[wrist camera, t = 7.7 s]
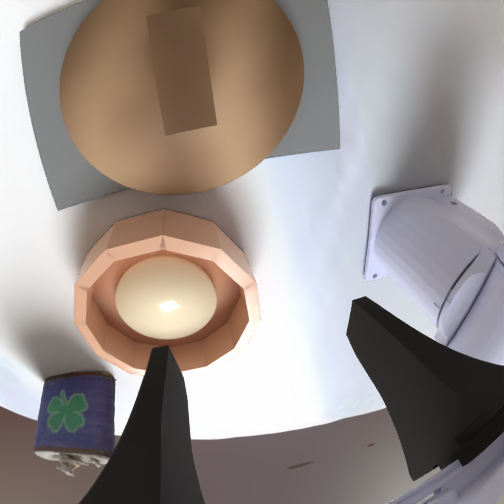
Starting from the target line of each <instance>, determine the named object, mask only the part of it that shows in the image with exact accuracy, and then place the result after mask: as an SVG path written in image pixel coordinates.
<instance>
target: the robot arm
mask: <svg viewBox="0 0 504 504" xmlns="http://www.w3.org/2000/svg"><path fill="white" fill-rule="evenodd" d="M451 193H452V187H451V186H450V185H449V184H445V185H439V186H433V187H426V188H420V189H414V190H408V191H402V192H396V193H391V194H385V195H379V196H376V197H374V198H373V200H372V206H371V218H370V229H369V239H368V248H367V256H366V264H365V272H364V279H365V280H366V281H367V282H370V281H373V280H376V279H379V278H382V277H385V276H388V275H390V276H391V277H392V278H393V279H394V280H395V282H396V283H397V284H398V285H399V286H400V287H401V288H402V289H403V290H404V291H405V292H406V293H407V294H408V295H409V296H410V298H411V299H412V300H413V301H414V302H415V303H416V304H417V305H418V306H419V307H420V309H421V310H422V311H423V312H424V313H425V314H426V315H427V316H428V318H429V319H430V320H431V321H432V322H433V323H434V325H435V326H436V327H437V328H438V331H437V333H436V335H435V337H434V338H435V340H436V341H435V340H433V339H431V338H429V337H427V336H426V335H424V334H422V333H421V332H419V331H417V330H416V329H414V328H412V327H411V326H409V325H408V324H406V323H405V322H403V321H402V320H400V319H399V318H397V317H396V316H394V315H393V314H391V313H390V312H388V311H387V310H385V309H384V308H382V307H381V306H379V305H378V304H377V303H375V302H374V301H372V300H371V299H369V298H367V297H366V296H365V297H361V298H358V299H355V300H353V301H352V307H351V312H350V318H349V323H348V328H347V333H346V335H347V337H348V339H349V341H350V344H351V346H352V348H353V350H354V352H355V354H356V356H357V358H358V359H359V361H360V363H361V364H362V366H363V368H364V369H365V371H366V372H367V374H368V376H369V377H370V379H371V380H372V382H373V384H374V385H375V387H376V389H377V390H378V392H379V393H380V395H381V397H382V399H383V401H384V403H385V405H386V407H387V409H388V411H389V414H390V416H391V418H392V421H393V423H394V426H395V428H396V431H397V433H398V436H399V439H400V442H401V445H402V448H403V451H404V454H405V458H406V462H407V466H408V470H409V474H410V476H411V478H412V480H413V481H415V480H417V479H418V478H420V477H422V476H423V475H425V474H427V473H428V472H430V471H432V470H433V469H435V468H436V467H438V466H439V467H440V469H441V471H440V472H438V473H437V474H435V475H434V476H432V477H431V478H429V479H428V480H426V481H425V482H423V483H421V484H420V485H418V486H416V487H415V488H413V489H411V490H410V491H408V492H406V493H404V494H403V495H401V496H399V497H397V498H396V499H394V500H392V501H390V502H388V503H386V504H416V503H417V502H419V501H421V500H422V499H424V498H425V497H427V496H428V495H430V494H431V493H433V492H434V495H433V496H432V497H430V498H428V499H426V500H424V501H422V502H420V503H418V504H496V503H497V502H498V500H499V499H500V498H501V497H502V495H503V494H504V236H503V234H502V232H501V231H500V230H499V228H498V227H497V226H496V225H495V224H494V223H493V222H491V221H490V220H488V219H487V218H485V217H484V216H482V215H481V214H479V213H478V212H476V211H475V210H473V209H472V208H470V207H468V206H467V205H465V204H463V203H462V202H460V201H459V200H457V199H455V198H453V197H452V196H451ZM383 200H384V202H383V203H382V201H383ZM79 504H205V503H204V499H203V496H202V493H201V489H200V485H199V481H198V478H197V474H196V469H195V465H194V461H193V455H192V449H191V437H190V425H189V413H188V399H187V394H186V388H185V382H184V377H183V374H182V372H181V370H180V368H179V366H178V364H177V362H176V360H175V358H174V356H173V353H172V351H171V349H170V347H169V345H166V346H160V347H154V348H152V350H151V353H150V357H149V360H148V364H147V367H146V371H145V374H144V377H143V381H142V384H141V387H140V389H139V392H138V395H137V398H136V401H135V404H134V406H133V409H132V412H131V414H130V417H129V419H128V422H127V424H126V426H125V429H124V431H123V433H122V435H121V437H120V440H119V442H118V444H117V446H116V447H115V449H114V451H113V453H112V455H111V457H110V459H109V460H108V462H107V464H106V466H105V467H104V469H103V470H102V472H101V474H100V475H99V477H98V478H97V480H96V481H95V483H94V484H93V486H92V487H91V489H90V490H89V491H88V492H87V494H86V495H85V496H84V498H83V499H82V500H81V501H80V503H79Z"/></svg>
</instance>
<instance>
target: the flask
mask: <svg viewBox="0 0 504 504" xmlns="http://www.w3.org/2000/svg"><path fill="white" fill-rule="evenodd" d="M115 381H116V379H115V378H114V377H113V376H112V375H111V374H109V373H106V372H103V371H101V372H100V371H90V372H89V371H87V372H86V371H84V372H75V373H70V374H63V375H58V376H54V377H50V378H48V379H46V381H45V383H44V386H43V392H42V397H41V404H40V410H39V415H38V421H37V429H36V436H35V444H34V452H35V453H36V455H38V456H40V457H42V458H45V459H47V460H60V461H59V462H60V463H61V466H62V467H61V468H60V470H61V471H63V472H65V473H66V474H67V475H71V476H75V475H73V470H74V469H75V468H77V467H79V466H80V465H81V464H84V465H89V464H87V463H95V465H96V466H97V467H100V466H101V465H100V464H107V462H108V460H109V459H110V457H111V455H112V453H113V451H114V449H115V448H114V446H115V440H114V439H115V437H114V431H115V429H114V414H115V413H114V412H115V405H114V403H115ZM57 469H59V467H57Z"/></svg>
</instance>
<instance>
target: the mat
mask: <svg viewBox="0 0 504 504" xmlns="http://www.w3.org/2000/svg"><path fill="white" fill-rule="evenodd" d="M102 1H103V0H86V1H83V2H81V3H78V4H76V5H73V6H71V7H69V8H66V9H64V10H62V11H59V12H57V13H55V14H53V15H51V16H49V17H47V18H45V19H43V20H41V21H39V22H37V23H35V24H33V25H31V26H29V27H27V28H26V29H24V30H22V31H20V47H21V58H22V68H23V76H24V83H25V90H26V96H27V101H28V107H29V112H30V117H31V122H32V126H33V130H34V135H35V139H36V143H37V147H38V150H39V154H40V158H41V161H42V165H43V168H44V171H45V174H46V178H47V181H48V184H49V187H50V190H51V193H52V196H53V199H54V201H55V204H56V207H57V210H58V211H59V210H62V209H64V208H67V207H70V206H73V205H76V204H79V203H83V202H86V201H89V200H92V199H95V198H98V197H102V196H105V195H108V194H112V193H115V192H119V191H122V190H126V189H129V187H126V186H124V185H122V184H120V183H118V182H116V181H114V180H112V179H110V178H109V177H107V176H106V175H104V174H103V173H101V172H100V171H98V170H97V169H96V168H95V167H94V166H93V165H92V164H90V163H89V162H88V161H87V159H86V158H85V157H84V156H83V155H82V154H81V153H80V151H79V150H78V148H77V147H76V145H75V144H74V142H73V141H72V139H71V137H70V135H69V132H68V130H67V128H66V126H65V122H64V119H63V115H62V112H61V105H60V97H59V88H60V76H61V69H62V65H63V61H64V58H65V55H66V52H67V49H68V47H69V45H70V43H71V41H72V38H73V36H74V35H75V33H76V32H77V30H78V28H79V27H80V25H81V24H82V22H83V21H84V20H85V19H86V18H87V16H88V15H89V14H90V13H91V12H92V10H93V9H94V8H96V7H97V6H98V5H99V4H100V3H101V2H102ZM273 1H274V2H275V3H276V4H277V5H278V6H279V7H280V8H281V9H282V10H283V12H284V13H285V15H286V16H287V18H288V19H289V20H290V22H291V24H292V26H293V28H294V30H295V32H296V34H297V37H298V40H299V43H300V46H301V49H302V55H303V60H304V86H303V93H302V97H301V101H300V105H299V108H298V111H297V113H296V116H295V118H294V120H293V122H292V124H291V126H290V128H289V130H288V132H287V133H286V134H285V136H284V137H283V139H282V140H281V142H280V143H279V144H278V145H277V147H276V148H275V149H274V150H273V151H272V152H271V153H270V154H269V155H268V156H267V157H266V158H265V159H267V158H273V157H280V156H287V155H294V154H301V153H309V152H317V151H325V150H334V149H340V127H339V106H338V90H337V77H336V66H335V55H334V46H333V38H332V30H331V22H330V15H329V8H328V2H327V0H273Z"/></svg>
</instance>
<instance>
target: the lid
mask: <svg viewBox="0 0 504 504" xmlns="http://www.w3.org/2000/svg"><path fill="white" fill-rule="evenodd" d="M303 86H304V60H303V55H302V49H301V46H300V43H299V40H298V37H297V34H296V32H295V30H294V28H293V26H292V24H291V22H290V20H289V19H288V18H287V16H286V15H285V13H284V12H283V10H282V9H281V8H280V7H279V6H278V5H277V4H276V3H275V2H274V1H273V0H103V1H102V2H101V3H100V4H99V5H98V6H97V7H96V8H94V9H93V10H92V12H91V13H90V14H89V15H88V16H87V18H86V19H85V20H84V21H83V22H82V24H81V25H80V27H79V28H78V30H77V32H76V33H75V35H74V36H73V38H72V41H71V43H70V45H69V47H68V49H67V52H66V55H65V58H64V61H63V65H62V69H61V76H60V88H59V97H60V105H61V112H62V115H63V119H64V122H65V126H66V128H67V130H68V132H69V135H70V137H71V139H72V141H73V142H74V144H75V145H76V147H77V148H78V150H79V151H80V153H81V154H82V155H83V156H84V157H85V158H86V159H87V161H88V162H89V163H90V164H92V165H93V166H94V167H95V168H96V169H97V170H98V171H100V172H101V173H103V174H104V175H106V176H107V177H109V178H110V179H112V180H114V181H116V182H118V183H120V184H122V185H124V186H126V187H129V188H132V189H135V190H139V191H143V192H148V193H153V194H163V195H182V194H191V193H197V192H203V191H206V190H210V189H213V188H217V187H219V186H222V185H224V184H226V183H229V182H231V181H233V180H235V179H237V178H239V177H240V176H242V175H244V174H246V173H247V172H249V171H250V170H251V169H253V168H254V167H256V166H257V165H258V164H259V163H261V162H262V161H263V160H264V159H265V158H266V157H267V156H268V155H269V154H270V153H271V152H272V151H273V150H274V149H275V148H276V147H277V145H278V144H279V143H280V142H281V140H282V139H283V137H284V136H285V134H286V133H287V132H288V130H289V128H290V126H291V124H292V122H293V120H294V118H295V116H296V113H297V111H298V108H299V105H300V101H301V97H302V93H303Z"/></svg>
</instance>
